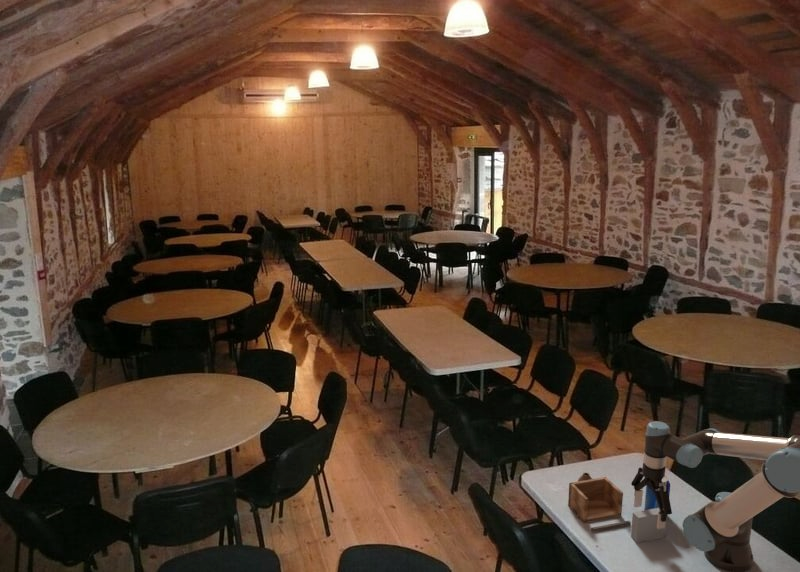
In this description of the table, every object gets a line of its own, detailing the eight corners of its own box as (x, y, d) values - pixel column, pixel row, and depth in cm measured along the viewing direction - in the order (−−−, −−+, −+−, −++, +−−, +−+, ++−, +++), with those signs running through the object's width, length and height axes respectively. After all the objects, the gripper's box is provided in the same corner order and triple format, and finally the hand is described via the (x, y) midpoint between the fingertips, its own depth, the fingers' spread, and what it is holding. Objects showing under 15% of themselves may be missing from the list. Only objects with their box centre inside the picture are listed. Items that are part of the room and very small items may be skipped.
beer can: (669, 522, 247) (672, 484, 243) (645, 520, 249) (649, 482, 245) (665, 509, 255) (668, 472, 251) (642, 507, 257) (645, 470, 253)
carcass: (630, 524, 246) (632, 501, 243) (592, 532, 242) (593, 508, 240) (604, 499, 263) (605, 476, 260) (568, 505, 259) (569, 482, 256)
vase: (591, 488, 270) (592, 469, 268) (595, 498, 264) (597, 478, 262) (574, 488, 271) (575, 469, 269) (578, 498, 264) (579, 478, 262)
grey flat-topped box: (667, 538, 238) (669, 514, 235) (638, 544, 235) (640, 519, 232) (659, 531, 242) (661, 507, 240) (630, 536, 239) (632, 512, 237)
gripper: (686, 481, 221) (680, 535, 227) (642, 446, 244) (637, 496, 250) (667, 484, 219) (661, 539, 225) (624, 448, 243) (620, 499, 248)
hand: (648, 516), depth 237 cm, fingers open, 13 cm apart
